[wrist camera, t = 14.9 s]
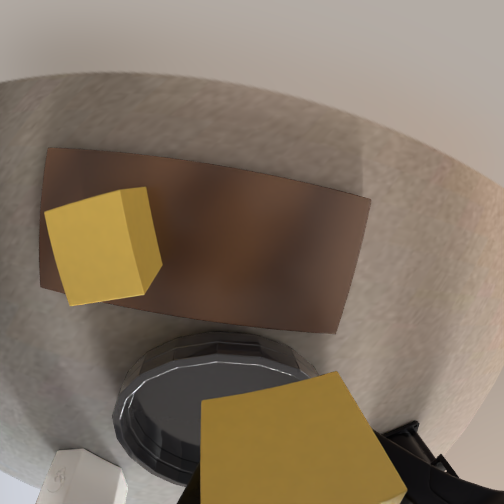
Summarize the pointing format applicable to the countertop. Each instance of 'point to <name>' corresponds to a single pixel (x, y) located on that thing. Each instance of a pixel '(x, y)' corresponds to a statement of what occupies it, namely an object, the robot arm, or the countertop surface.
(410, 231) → the countertop surface
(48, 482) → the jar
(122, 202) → the cheese back
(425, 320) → the countertop surface
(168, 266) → the board
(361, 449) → the cheese front
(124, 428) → the pan
